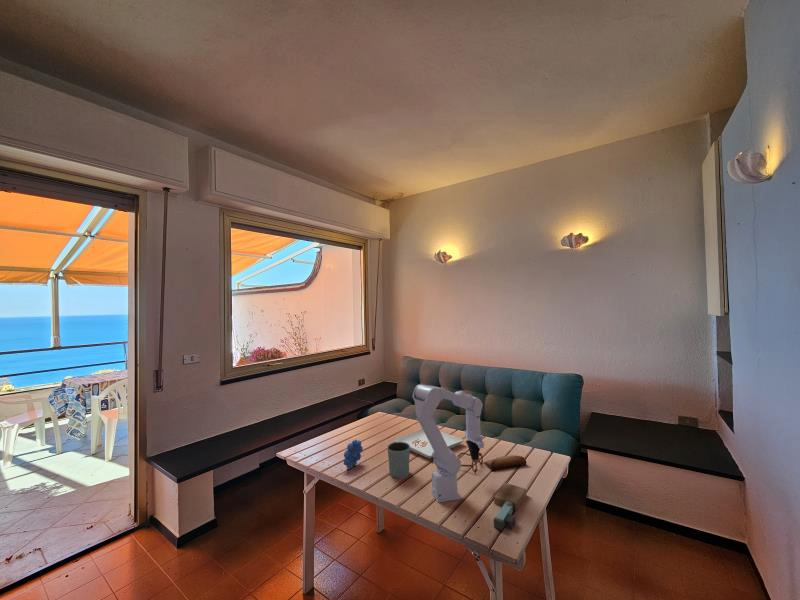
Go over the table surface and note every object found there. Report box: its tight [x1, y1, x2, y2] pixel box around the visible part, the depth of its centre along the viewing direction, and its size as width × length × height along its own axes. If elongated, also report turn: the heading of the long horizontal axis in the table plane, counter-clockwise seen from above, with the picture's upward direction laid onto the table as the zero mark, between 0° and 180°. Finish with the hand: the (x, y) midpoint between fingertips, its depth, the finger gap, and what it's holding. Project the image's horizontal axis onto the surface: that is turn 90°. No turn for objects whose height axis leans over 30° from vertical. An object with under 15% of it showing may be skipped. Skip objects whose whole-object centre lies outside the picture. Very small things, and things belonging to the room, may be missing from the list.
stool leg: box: [493, 501, 514, 531], centre depth 107 cm, size 12×3×3 cm, turn 144°
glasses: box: [457, 452, 484, 473], centre depth 148 cm, size 13×13×5 cm
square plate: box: [393, 428, 465, 459], centre depth 170 cm, size 27×27×4 cm
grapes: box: [343, 438, 363, 469], centre depth 149 cm, size 12×7×12 cm, turn 143°
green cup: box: [386, 441, 411, 479], centre depth 141 cm, size 10×10×12 cm
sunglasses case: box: [483, 455, 527, 471], centre depth 146 cm, size 18×7×7 cm, turn 105°
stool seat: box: [493, 482, 527, 531], centre depth 114 cm, size 10×23×3 cm, turn 143°
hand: (474, 459), depth 132 cm, fingers closed
